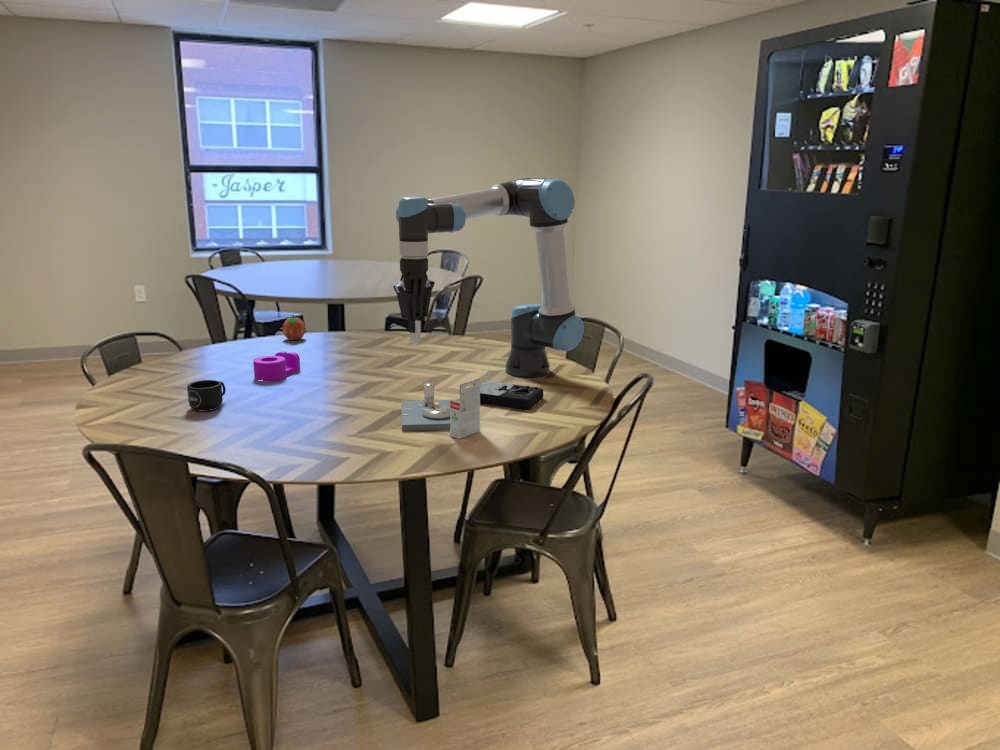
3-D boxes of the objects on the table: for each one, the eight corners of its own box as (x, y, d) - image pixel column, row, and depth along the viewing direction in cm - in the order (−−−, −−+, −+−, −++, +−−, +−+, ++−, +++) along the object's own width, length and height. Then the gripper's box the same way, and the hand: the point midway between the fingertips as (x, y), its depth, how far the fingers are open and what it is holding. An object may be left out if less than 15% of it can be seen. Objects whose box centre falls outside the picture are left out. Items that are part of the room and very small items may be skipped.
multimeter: (528, 412, 216) (529, 395, 215) (467, 403, 224) (467, 387, 222) (543, 399, 228) (544, 384, 227) (485, 392, 235) (485, 376, 234)
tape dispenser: (275, 383, 239) (273, 364, 238) (248, 380, 242) (246, 361, 241) (302, 371, 254) (301, 353, 252) (276, 368, 257) (275, 350, 255)
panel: (470, 404, 221) (470, 398, 221) (477, 428, 201) (477, 422, 201) (401, 406, 219) (401, 400, 218) (402, 430, 198) (402, 424, 198)
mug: (206, 415, 208) (204, 390, 206) (182, 410, 212) (179, 385, 210) (237, 403, 219) (235, 379, 217) (214, 399, 222) (212, 375, 220)
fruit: (279, 341, 294) (277, 316, 291) (289, 336, 303) (288, 311, 301) (300, 342, 293) (298, 317, 290) (310, 337, 302) (308, 312, 299)
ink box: (449, 436, 195) (449, 382, 191) (470, 428, 201) (470, 376, 197) (459, 439, 193) (459, 384, 189) (480, 432, 199) (480, 378, 195)
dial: (459, 417, 205) (459, 395, 203) (427, 421, 201) (427, 398, 200) (442, 402, 217) (442, 381, 216) (412, 405, 214) (412, 384, 212)
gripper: (422, 253, 207) (423, 337, 213) (385, 257, 198) (388, 345, 204) (441, 256, 202) (442, 342, 209) (404, 260, 193) (406, 350, 199)
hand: (415, 343), depth 206 cm, fingers closed
